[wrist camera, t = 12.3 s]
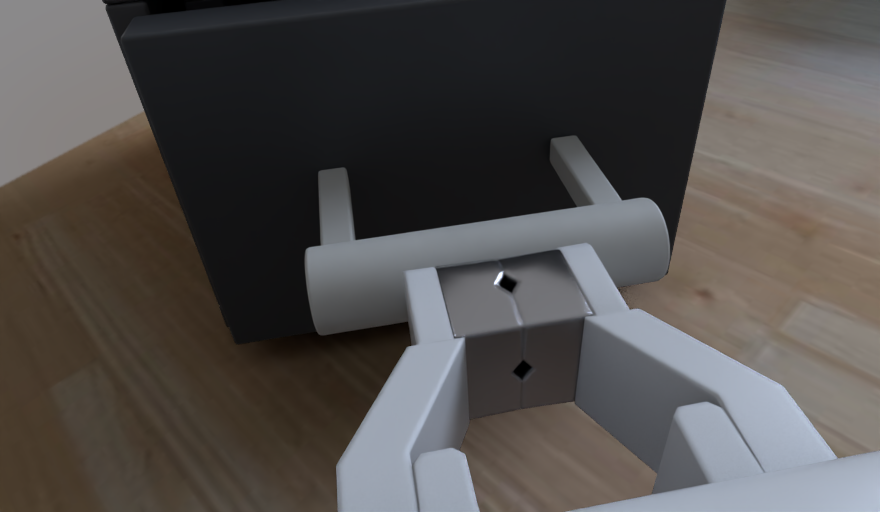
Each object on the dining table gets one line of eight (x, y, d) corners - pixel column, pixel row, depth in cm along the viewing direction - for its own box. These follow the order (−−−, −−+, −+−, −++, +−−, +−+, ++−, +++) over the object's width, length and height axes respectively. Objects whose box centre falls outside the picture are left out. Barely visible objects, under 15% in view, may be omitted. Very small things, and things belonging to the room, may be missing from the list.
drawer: (755, 401, 14) (896, 46, 9) (217, 501, 13) (39, 159, 8) (529, 76, 27) (535, -135, 23) (261, 110, 26) (207, -103, 22)
